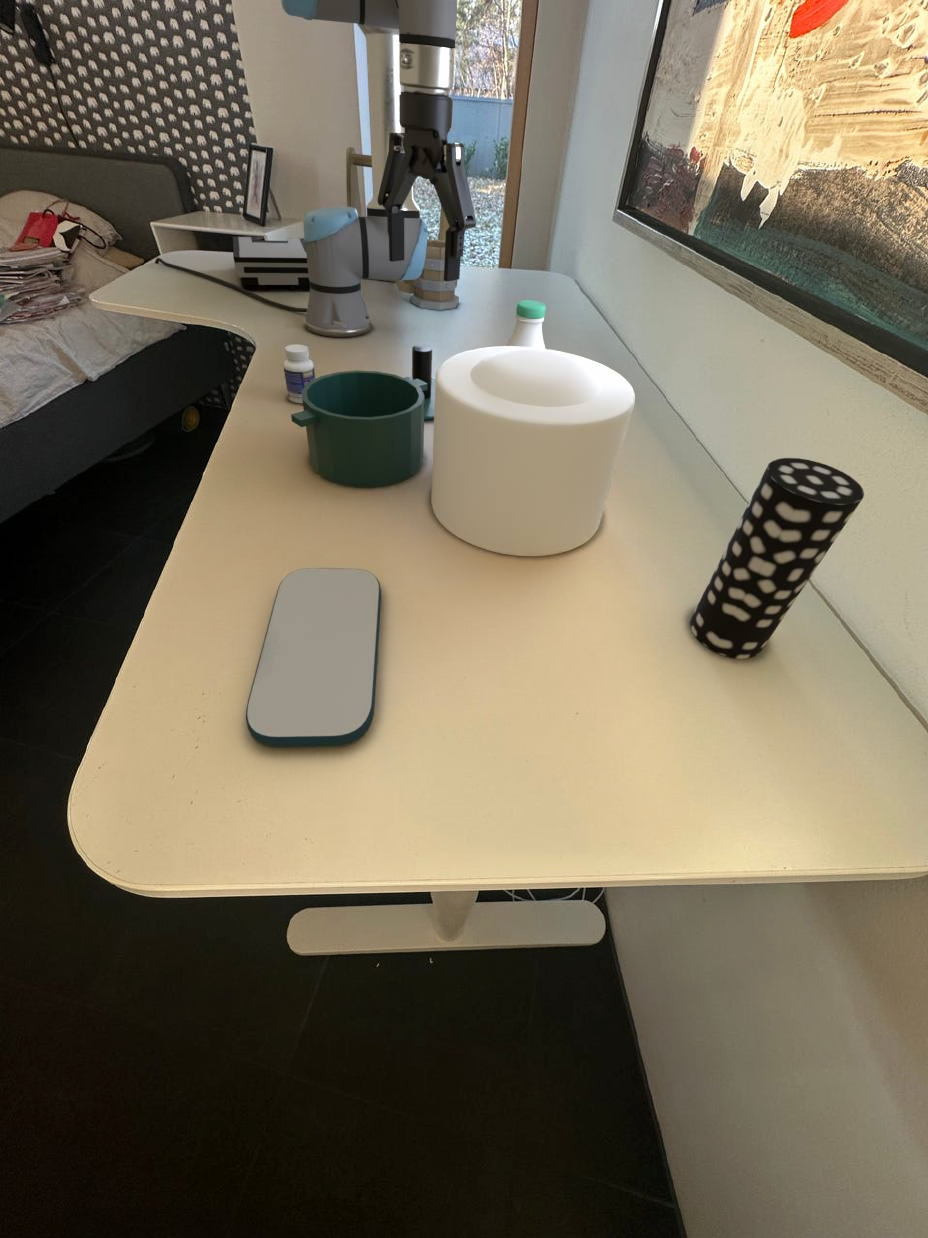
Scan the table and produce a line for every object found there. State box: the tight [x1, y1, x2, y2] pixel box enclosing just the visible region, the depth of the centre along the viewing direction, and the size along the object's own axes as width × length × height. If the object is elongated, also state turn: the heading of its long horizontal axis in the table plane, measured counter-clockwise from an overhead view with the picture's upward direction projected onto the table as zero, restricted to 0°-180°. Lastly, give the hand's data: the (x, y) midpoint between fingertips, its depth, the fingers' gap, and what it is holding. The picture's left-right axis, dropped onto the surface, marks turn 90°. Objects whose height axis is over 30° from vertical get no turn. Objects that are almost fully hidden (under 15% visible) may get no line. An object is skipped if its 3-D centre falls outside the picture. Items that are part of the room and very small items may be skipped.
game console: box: [232, 236, 310, 291], centre depth 158 cm, size 21×32×8 cm, turn 17°
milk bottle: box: [505, 299, 547, 349], centre depth 93 cm, size 8×8×20 cm
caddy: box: [345, 146, 449, 285], centre depth 160 cm, size 29×11×30 cm, turn 77°
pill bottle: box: [283, 343, 316, 404], centre depth 99 cm, size 5×5×9 cm
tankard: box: [394, 239, 460, 311], centre depth 148 cm, size 20×13×15 cm, turn 80°
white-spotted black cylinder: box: [689, 457, 865, 660], centre depth 57 cm, size 8×8×20 cm
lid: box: [403, 344, 436, 420], centre depth 102 cm, size 19×19×10 cm
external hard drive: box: [245, 567, 382, 748], centre depth 57 cm, size 24×12×2 cm, turn 4°
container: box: [430, 345, 636, 557], centre depth 74 cm, size 25×25×20 cm
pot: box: [290, 370, 427, 489], centre depth 84 cm, size 18×23×10 cm
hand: (423, 269), depth 90 cm, fingers open, 13 cm apart
